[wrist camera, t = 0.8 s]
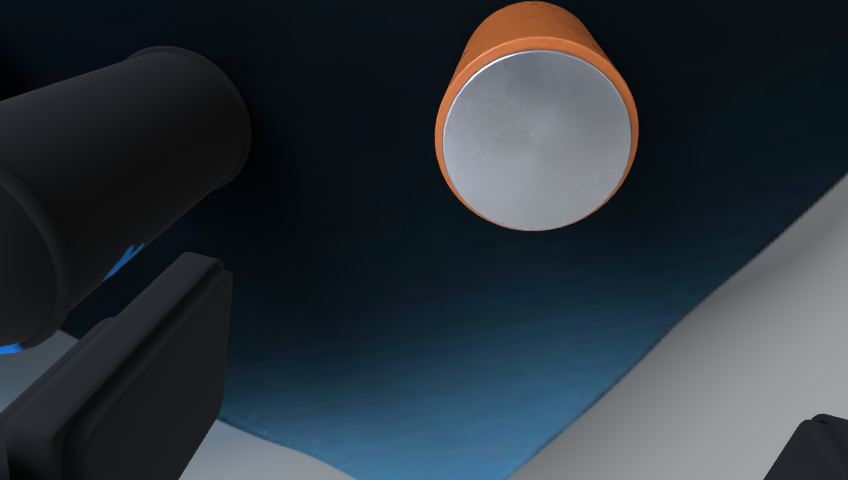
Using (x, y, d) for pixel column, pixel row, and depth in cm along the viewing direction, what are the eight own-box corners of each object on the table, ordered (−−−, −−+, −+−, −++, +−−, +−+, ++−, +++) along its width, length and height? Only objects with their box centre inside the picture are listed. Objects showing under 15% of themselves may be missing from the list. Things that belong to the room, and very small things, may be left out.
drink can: (487, -20, 29) (470, 9, 18) (620, 26, 29) (681, 80, 18) (444, 112, 32) (408, 203, 21) (565, 153, 32) (590, 264, 21)
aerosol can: (100, 36, 33) (-393, 157, 15) (250, 54, 32) (-79, 203, 14) (120, 181, 37) (-255, 415, 19) (255, 200, 36) (-1, 461, 18)
